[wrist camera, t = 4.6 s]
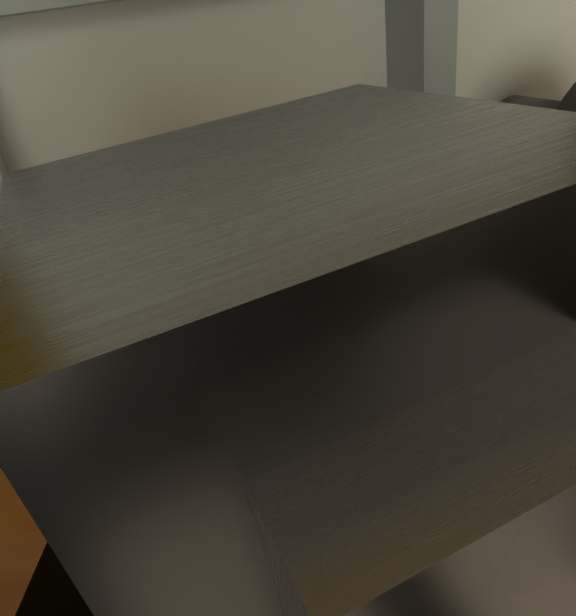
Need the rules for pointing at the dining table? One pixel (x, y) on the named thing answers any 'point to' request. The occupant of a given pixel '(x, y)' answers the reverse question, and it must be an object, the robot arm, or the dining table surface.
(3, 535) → the dining table surface
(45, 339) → the block
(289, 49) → the chassis
